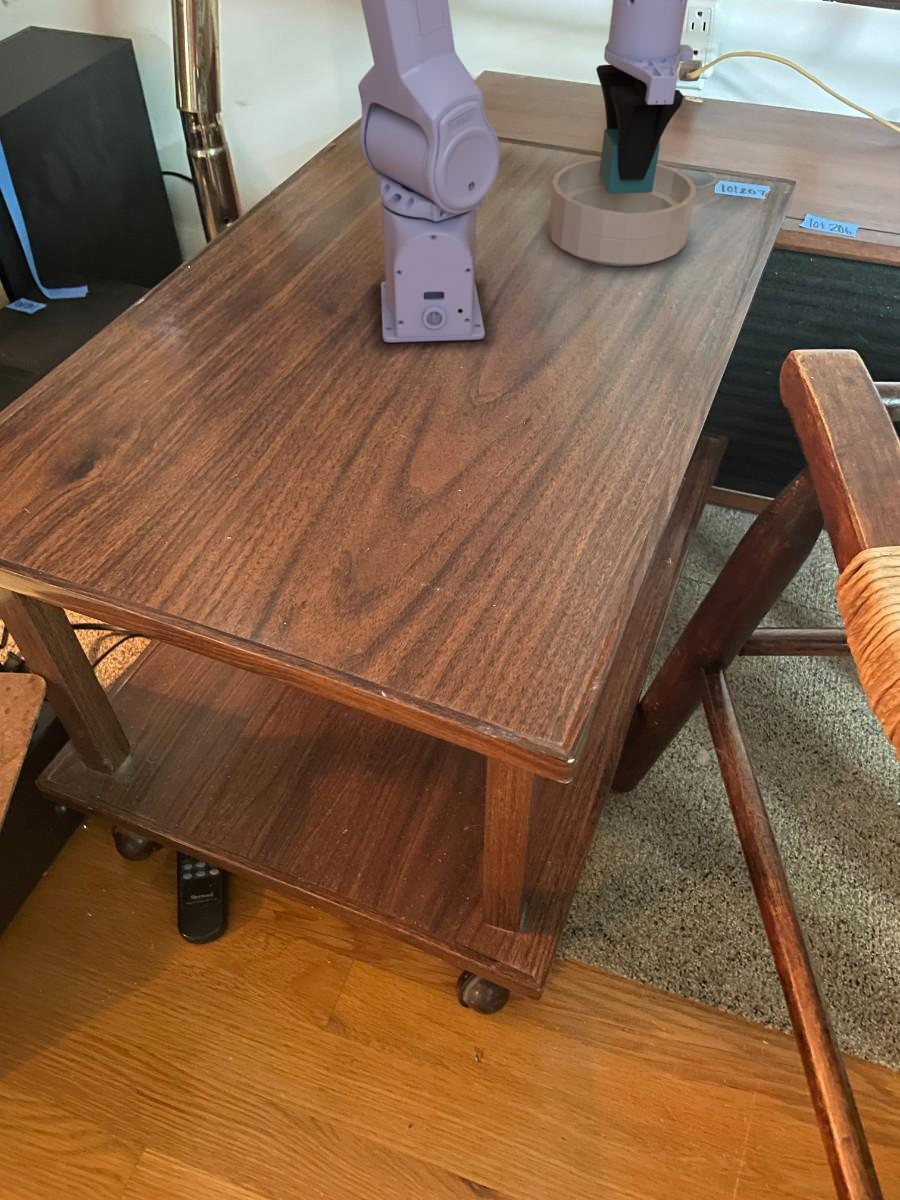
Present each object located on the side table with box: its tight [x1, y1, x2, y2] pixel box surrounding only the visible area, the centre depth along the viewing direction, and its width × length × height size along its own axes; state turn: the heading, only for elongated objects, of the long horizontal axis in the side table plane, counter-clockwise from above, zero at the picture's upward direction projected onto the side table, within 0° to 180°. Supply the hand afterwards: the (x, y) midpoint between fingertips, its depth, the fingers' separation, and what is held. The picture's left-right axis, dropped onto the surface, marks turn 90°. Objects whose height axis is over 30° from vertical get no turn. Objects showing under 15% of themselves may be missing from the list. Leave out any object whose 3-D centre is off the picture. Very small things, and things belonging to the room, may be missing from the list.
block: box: [599, 128, 661, 194], centre depth 77 cm, size 4×4×4 cm
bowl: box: [547, 157, 697, 267], centre depth 81 cm, size 13×13×5 cm
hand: (626, 168), depth 78 cm, fingers closed on block, 4 cm apart
